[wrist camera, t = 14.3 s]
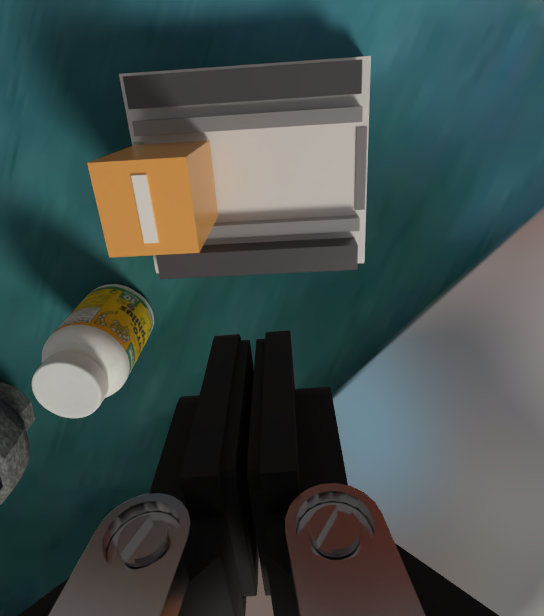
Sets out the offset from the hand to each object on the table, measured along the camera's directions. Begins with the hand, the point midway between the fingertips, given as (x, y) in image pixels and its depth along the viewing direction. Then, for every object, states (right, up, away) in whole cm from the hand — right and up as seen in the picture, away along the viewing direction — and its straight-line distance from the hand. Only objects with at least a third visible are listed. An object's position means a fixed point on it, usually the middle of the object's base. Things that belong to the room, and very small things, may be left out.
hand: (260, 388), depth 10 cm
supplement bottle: (-11, +1, +24) cm, 27 cm away
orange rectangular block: (-5, +10, +17) cm, 20 cm away
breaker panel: (-1, +11, +19) cm, 22 cm away
